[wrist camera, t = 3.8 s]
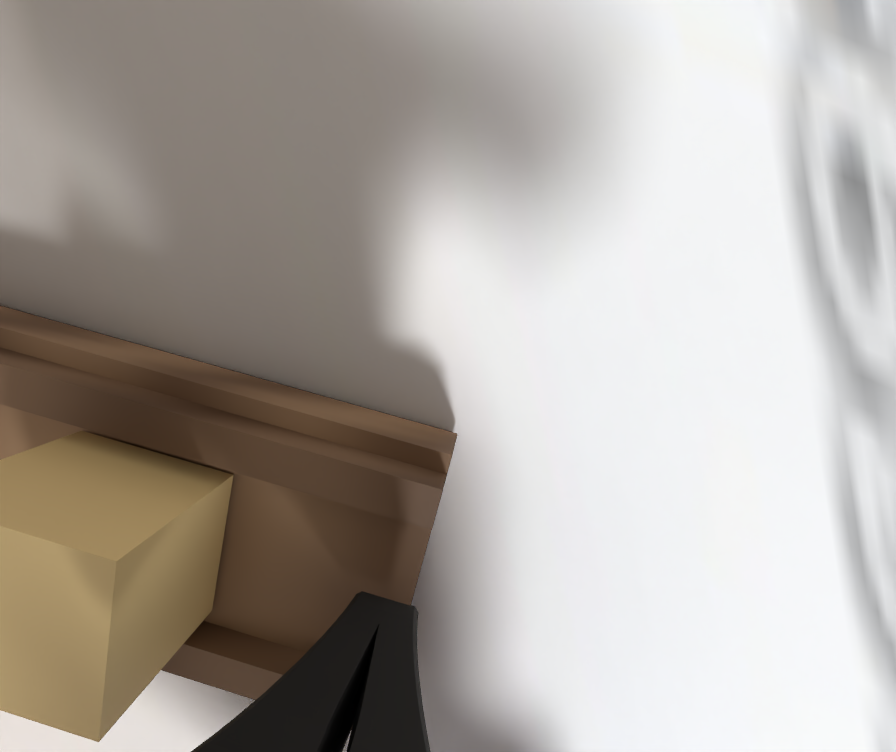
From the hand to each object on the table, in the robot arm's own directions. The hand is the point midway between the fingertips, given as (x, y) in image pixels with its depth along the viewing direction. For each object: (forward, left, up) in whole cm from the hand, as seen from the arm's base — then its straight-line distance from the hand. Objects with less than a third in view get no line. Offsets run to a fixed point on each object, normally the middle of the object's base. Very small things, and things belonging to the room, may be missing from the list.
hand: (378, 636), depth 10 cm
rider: (+6, 0, -1) cm, 7 cm away
